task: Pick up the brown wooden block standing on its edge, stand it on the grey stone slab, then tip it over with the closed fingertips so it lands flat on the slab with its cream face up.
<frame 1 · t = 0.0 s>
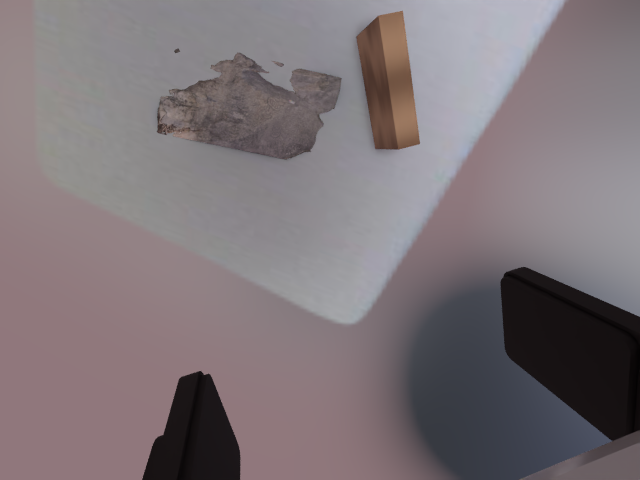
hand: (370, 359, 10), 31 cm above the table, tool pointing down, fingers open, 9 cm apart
brown wooden block: (375, 93, 39), on the table
stone slab: (251, 105, 37), on the table
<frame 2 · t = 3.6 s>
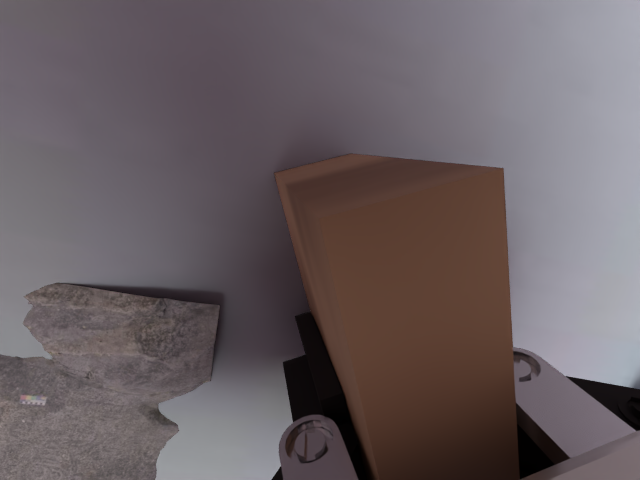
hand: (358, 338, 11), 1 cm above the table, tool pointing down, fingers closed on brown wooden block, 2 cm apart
brown wooden block: (351, 332, 12), on the table, touching gripper
when the fingers open (3 cm above the table, at t = 8.3 s): brown wooden block drops 2 cm, resting on stone slab.
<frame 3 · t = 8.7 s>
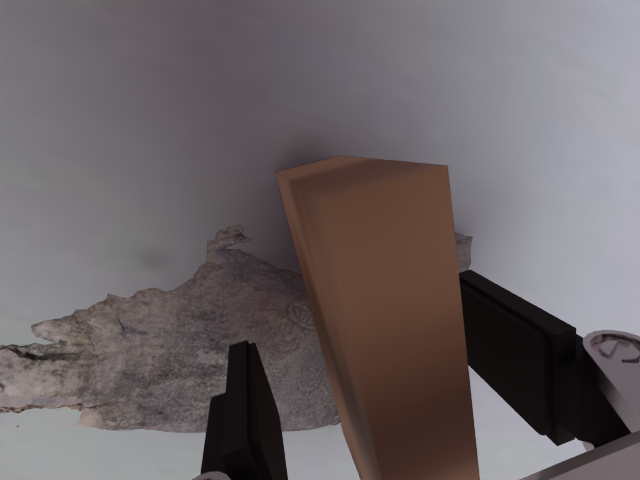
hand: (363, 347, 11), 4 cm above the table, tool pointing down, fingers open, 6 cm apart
brown wooden block: (342, 311, 14), point 1 cm above the table, touching stone slab
stone slab: (246, 312, 15), on the table, touching brown wooden block
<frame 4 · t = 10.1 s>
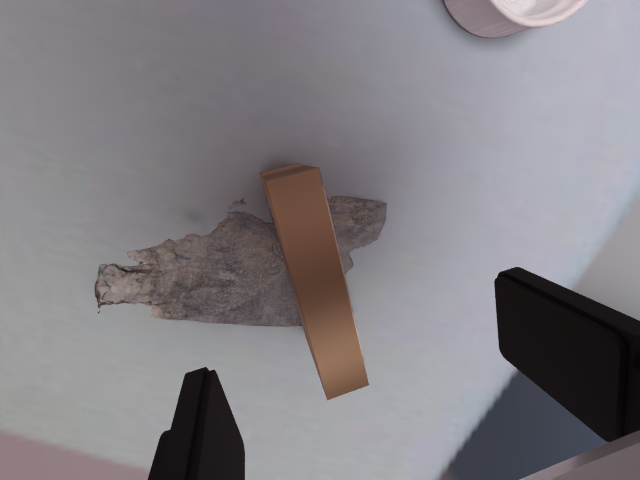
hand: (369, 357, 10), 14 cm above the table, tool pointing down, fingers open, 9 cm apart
brown wooden block: (301, 256, 23), point 1 cm above the table, touching stone slab
stone slab: (247, 251, 24), on the table, touching brown wooden block
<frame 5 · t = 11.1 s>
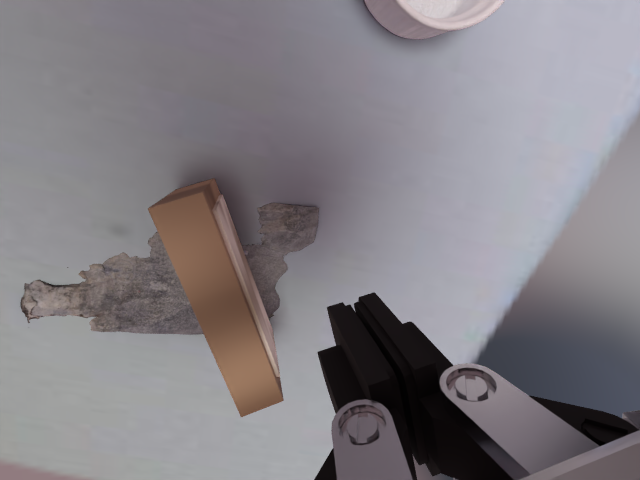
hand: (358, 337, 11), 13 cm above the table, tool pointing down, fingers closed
brown wooden block: (229, 270, 23), point 1 cm above the table, touching stone slab
stone slab: (181, 260, 24), on the table, touching brown wooden block
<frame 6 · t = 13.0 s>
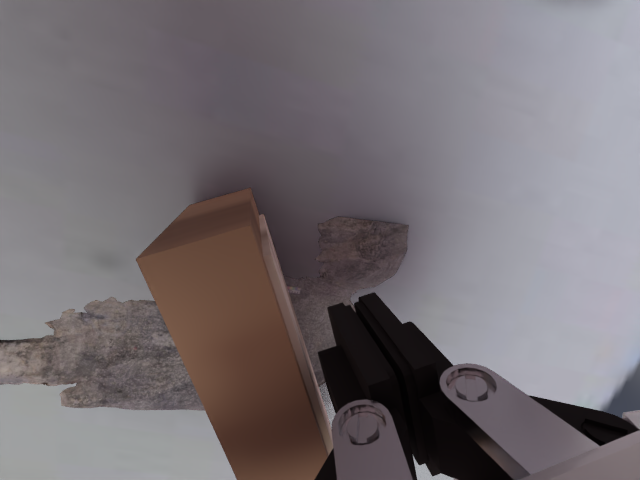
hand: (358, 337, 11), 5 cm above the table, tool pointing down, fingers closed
brown wooden block: (266, 326, 15), point 1 cm above the table, touching gripper, stone slab
stone slab: (200, 299, 16), on the table, touching brown wooden block
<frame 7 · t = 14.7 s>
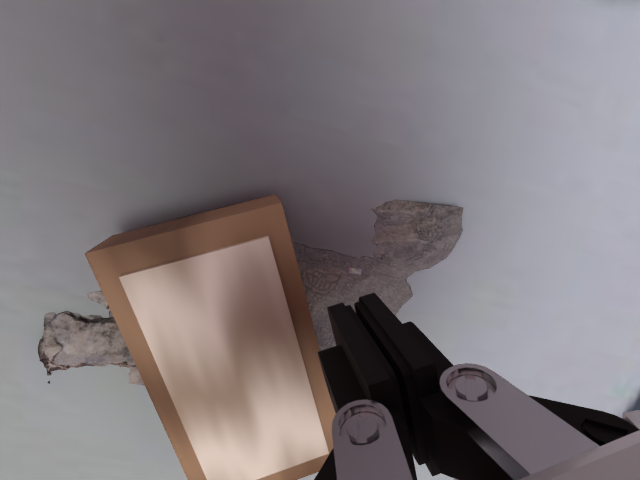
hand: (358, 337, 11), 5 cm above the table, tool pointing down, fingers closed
brown wooden block: (314, 332, 15), point 2 cm above the table, tilted 90°, touching stone slab
stone slab: (264, 282, 17), on the table, touching brown wooden block
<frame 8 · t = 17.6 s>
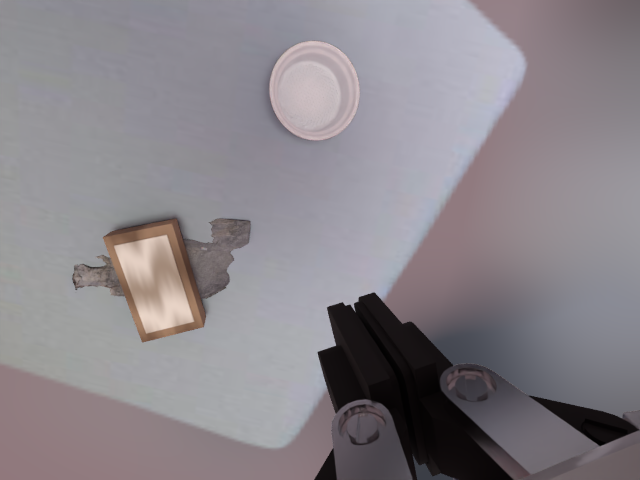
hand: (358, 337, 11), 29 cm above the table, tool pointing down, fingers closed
ramekin: (307, 98, 37), on the table
brown wooden block: (190, 273, 37), point 2 cm above the table, tilted 90°, touching stone slab
stone slab: (167, 253, 39), on the table, touching brown wooden block
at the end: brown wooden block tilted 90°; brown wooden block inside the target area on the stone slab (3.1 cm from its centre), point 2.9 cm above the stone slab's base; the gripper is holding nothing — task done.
